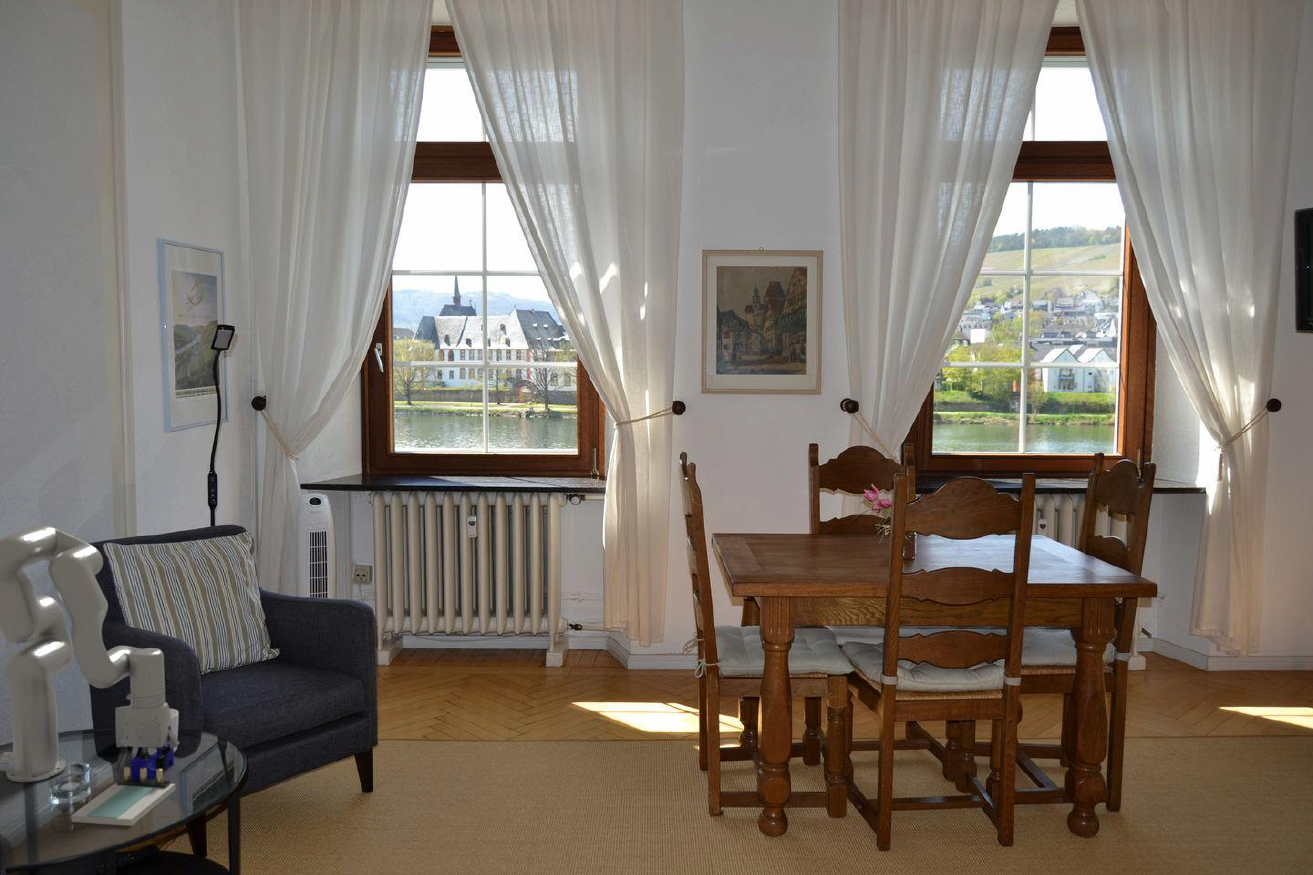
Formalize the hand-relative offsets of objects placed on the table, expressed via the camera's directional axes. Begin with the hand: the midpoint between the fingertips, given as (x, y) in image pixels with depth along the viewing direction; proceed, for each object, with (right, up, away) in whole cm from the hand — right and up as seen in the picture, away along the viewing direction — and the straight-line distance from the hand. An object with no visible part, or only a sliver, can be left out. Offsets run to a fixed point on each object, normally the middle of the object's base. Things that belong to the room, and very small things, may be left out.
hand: (151, 770), depth 256 cm
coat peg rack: (+3, 0, -9) cm, 10 cm away
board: (+2, -3, -17) cm, 17 cm away
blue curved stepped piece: (0, -1, 0) cm, 1 cm away
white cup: (-3, +1, +13) cm, 14 cm away
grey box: (-14, +1, +18) cm, 23 cm away
